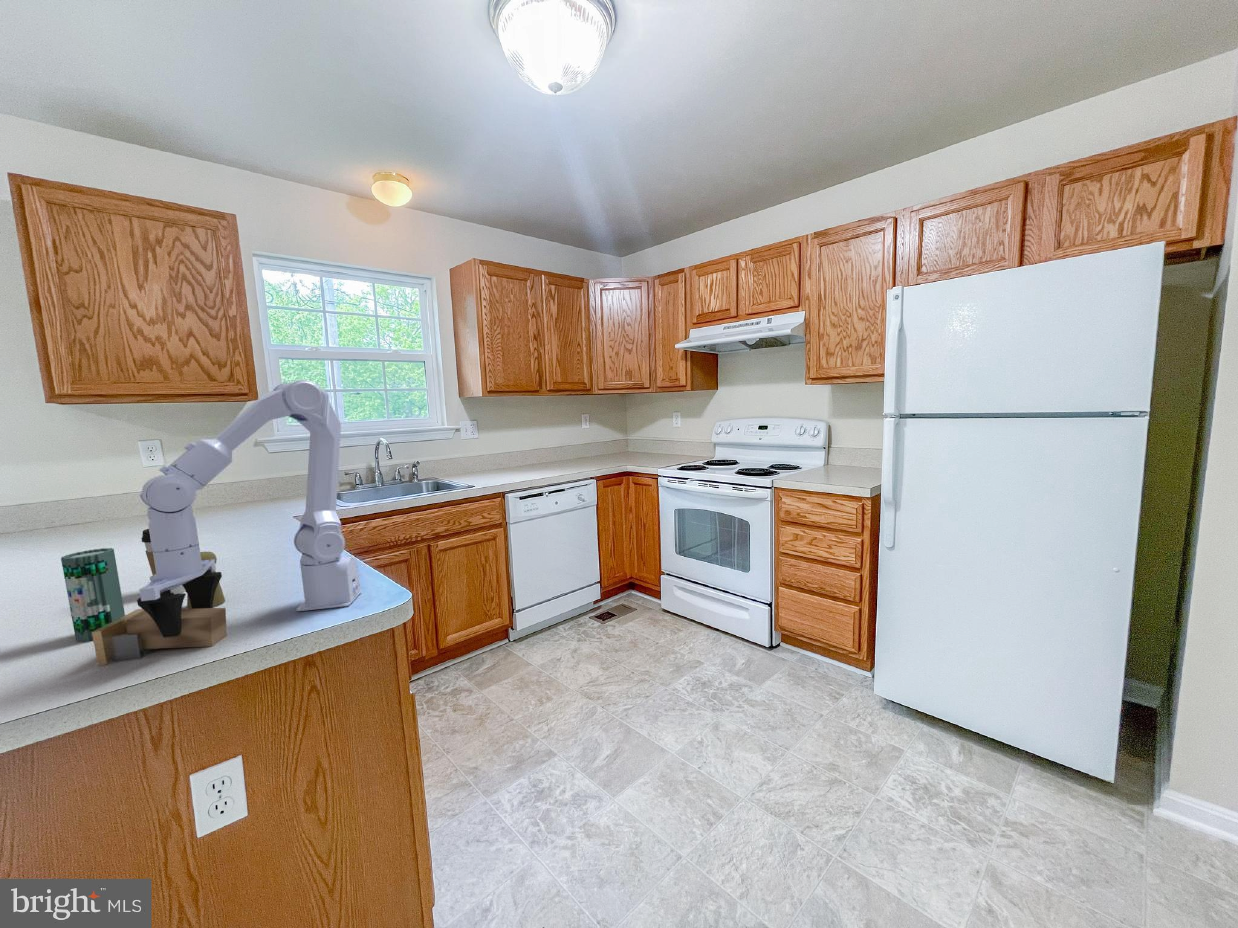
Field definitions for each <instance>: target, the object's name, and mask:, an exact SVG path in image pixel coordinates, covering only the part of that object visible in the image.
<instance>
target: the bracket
mask: <svg viewBox="0 0 1238 928" xmlns="http://www.w3.org/2000/svg"><path fill="white" fill-rule="evenodd" d="M143 611H145V610H143V609H142V608H137V609H135V610H133V611H130V612H129V613H127V614H125V616H123V617H121V618H119V619H117V620H115V621H113V622H111V623H109V624H107V625H105V626H103V627H101V628H99V629H97V630H95V631H93V632H92V635H93V640H92V641H93V646H94V651H95V652H94V653H95V656H96V662H97V666H104V665H105V666H106V665H109V664H110V663H112V662H118V661H119V662H120V661H128V660H129V661H130V660H136V659H141V658H143V657H146V655H148V654H150V653H152V652H153V651H155V650H156V649H157V648H154V649H143V644H142V638H141V632H138V633H129V634H127V623H126V620H127V619H129V618H131V617H133V616H135V615H137V614H139V613H141V612H143Z"/></svg>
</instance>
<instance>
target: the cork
mask: <svg viewBox="0 0 1238 928" xmlns="http://www.w3.org/2000/svg"><path fill="white" fill-rule="evenodd" d="M200 554H201V561H203V560H215V565H216V564H217V556H216V554H215V553H214V552H212V551H200ZM211 572H212V573H213V572H217V571H216V570H214V571H211ZM186 595H187V596H186V597H187V599H186V609H192V606H191V602H190V599H189V596H188V594H187V593H186ZM225 602H226V599H225V596H224V592H223V589H222V586H221V583H220V582H219V583H218V585H217V588H216V591H215V595H214V600H213V606H212V608H217V607H219V606H221V605H223V604H224V603H225Z"/></svg>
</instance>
